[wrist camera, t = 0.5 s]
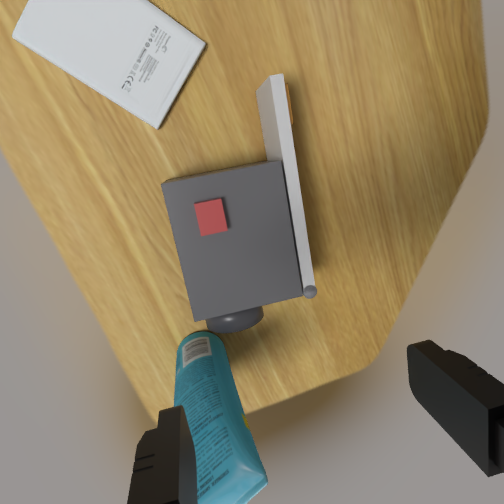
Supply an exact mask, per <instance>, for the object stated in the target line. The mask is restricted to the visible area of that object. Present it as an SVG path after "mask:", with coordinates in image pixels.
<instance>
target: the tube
mask: <svg viewBox="0 0 504 504" xmlns="http://www.w3.org/2000/svg"><path fill="white" fill-rule="evenodd" d="M179 405H182V406H183V408H184V411H185V414H186V418H187V422H188V425H189V429H190V432H191V436H192V439H193V443H194V448H195V454H196V466H197V499H198V504H247V503H248V502H249V501H250V500H251V499H252V498H253V497H254V496H255V495H256V494H257V493H259V491H261V490H262V489H263V488H264V487H265V486H266V485H267V484H268V479H267V475H266V472H265V469H264V467H263V465H262V462H261V460H260V457H259V454H258V452H257V449H256V446H255V443H254V440H253V437H252V435H251V432H250V429H249V426H248V423H247V420H246V417H245V414H244V411H243V408H242V405H241V402H240V398H239V395H238V392H237V389H236V385H235V382H234V379H233V375H232V372H231V368H230V365H229V361H228V357H227V353H226V350H225V347H224V344H223V342H222V341H221V339H220V338H219V337H218V336H216V335H214V334H212V333H210V332H196V333H193V334H191V335H189V336H187V337H186V338H185V339H184V340H183V341H182V342H181V343H180V345H179V347H178V350H177V360H176V378H175V395H174V407H175V406H179Z"/></svg>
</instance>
